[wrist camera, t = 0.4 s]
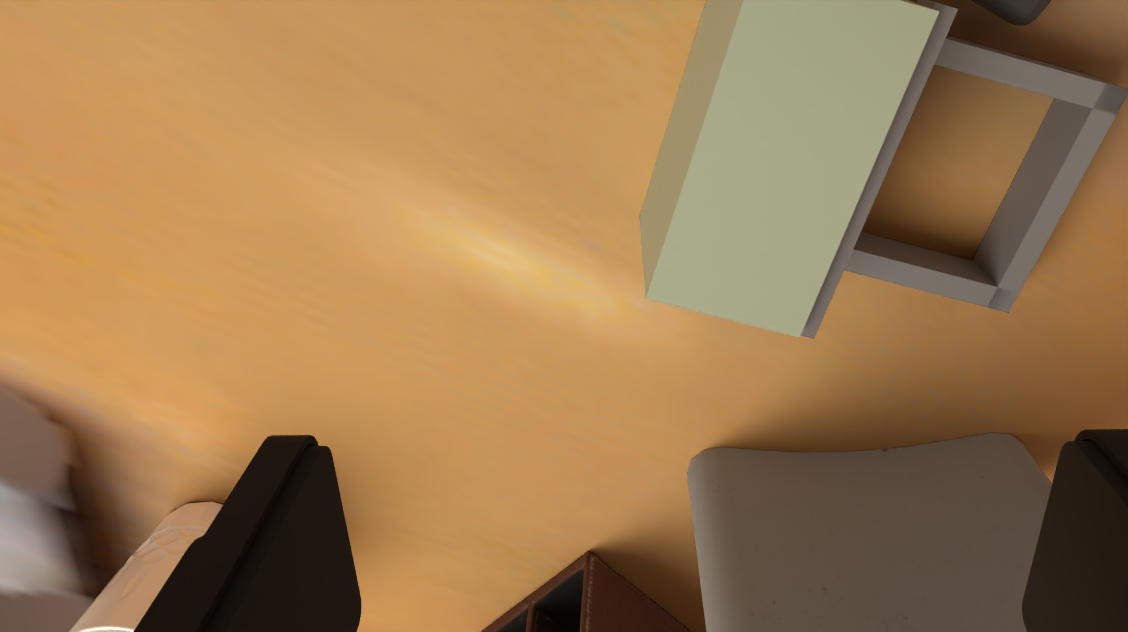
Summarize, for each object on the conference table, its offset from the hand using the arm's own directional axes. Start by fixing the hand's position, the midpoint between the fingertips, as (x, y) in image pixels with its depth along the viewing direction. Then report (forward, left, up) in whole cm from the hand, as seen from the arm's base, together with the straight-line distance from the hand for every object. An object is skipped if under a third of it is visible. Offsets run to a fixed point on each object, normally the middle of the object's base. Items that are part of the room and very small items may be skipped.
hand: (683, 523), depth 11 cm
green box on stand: (0, +10, -29) cm, 31 cm away
